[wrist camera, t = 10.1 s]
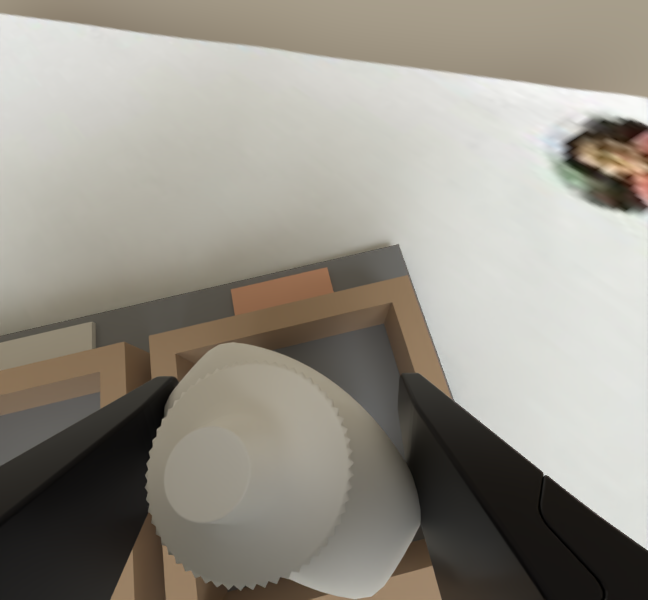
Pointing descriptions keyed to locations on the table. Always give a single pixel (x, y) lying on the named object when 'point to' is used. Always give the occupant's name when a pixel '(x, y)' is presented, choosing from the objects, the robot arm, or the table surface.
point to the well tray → (193, 343)
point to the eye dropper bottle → (277, 478)
